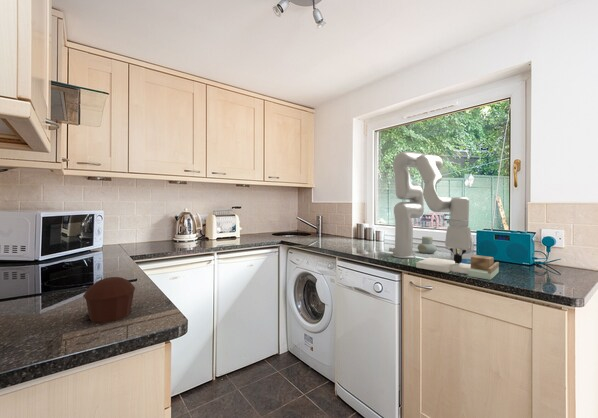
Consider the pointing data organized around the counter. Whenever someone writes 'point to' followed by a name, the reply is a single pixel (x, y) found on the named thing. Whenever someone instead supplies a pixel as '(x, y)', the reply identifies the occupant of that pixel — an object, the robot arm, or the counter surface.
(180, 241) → the counter surface
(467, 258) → the ink box
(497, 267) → the platform
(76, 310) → the counter surface
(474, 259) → the walnut block
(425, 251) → the air freshener
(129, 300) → the muffin
